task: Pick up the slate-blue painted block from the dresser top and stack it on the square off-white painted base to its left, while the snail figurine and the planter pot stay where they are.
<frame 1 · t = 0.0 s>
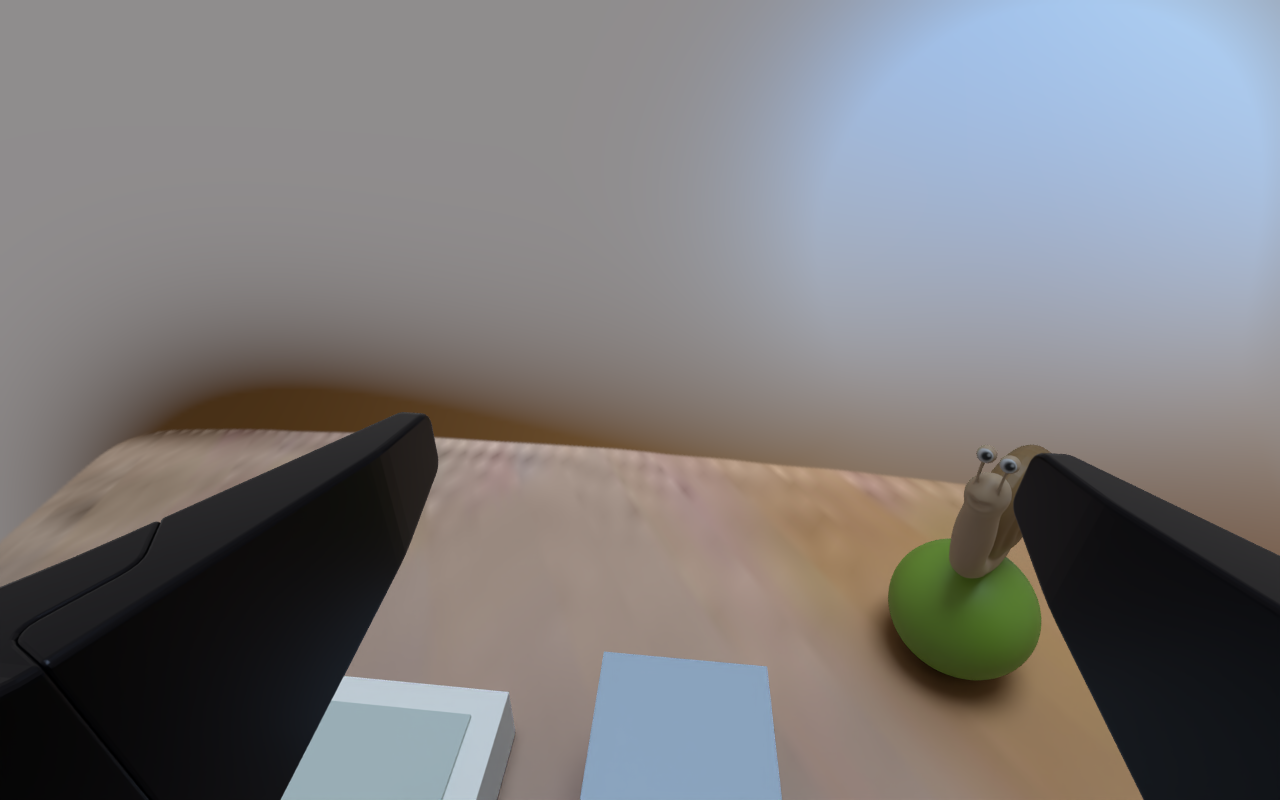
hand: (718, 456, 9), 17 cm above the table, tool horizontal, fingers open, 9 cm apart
snail figurine: (934, 658, 25), on the table
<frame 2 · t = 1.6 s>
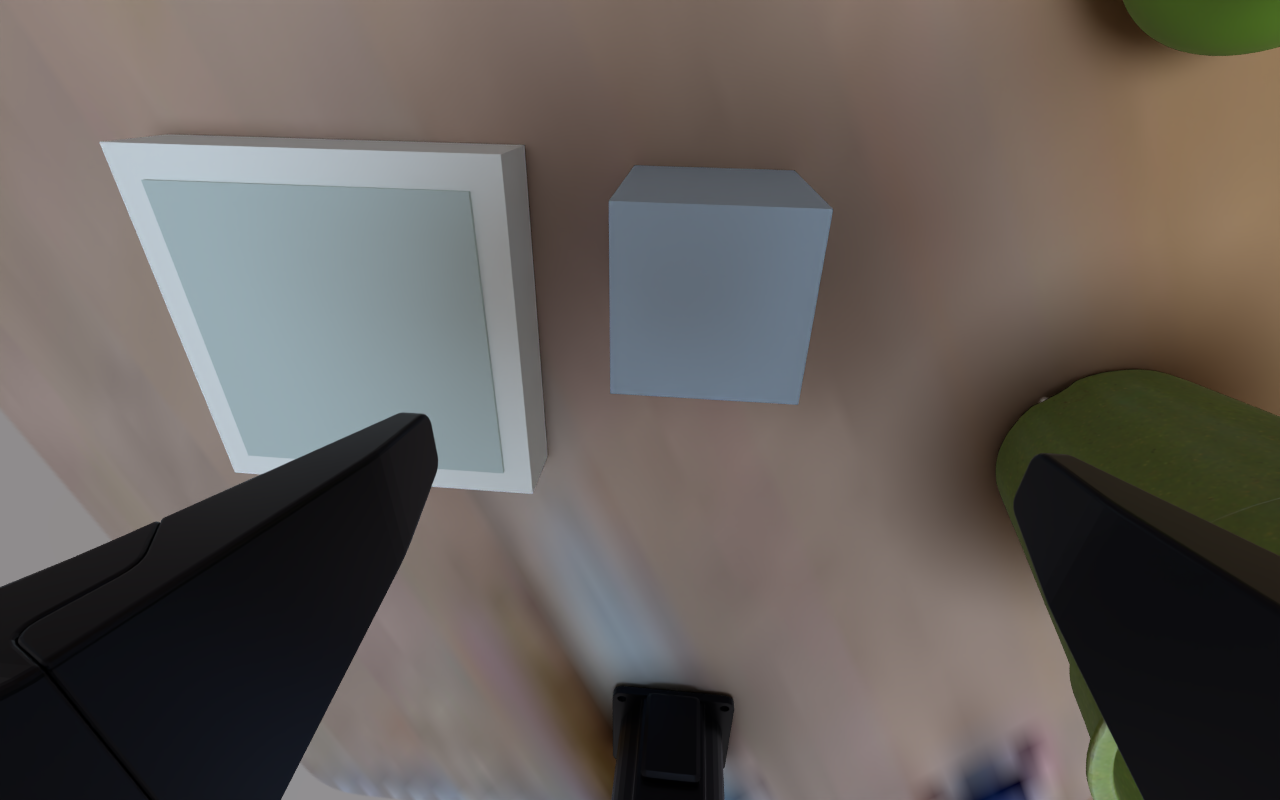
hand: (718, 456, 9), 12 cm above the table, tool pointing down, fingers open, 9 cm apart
plant pot: (1088, 446, 22), on the table
block: (707, 247, 19), on the table
base: (380, 314, 21), on the table
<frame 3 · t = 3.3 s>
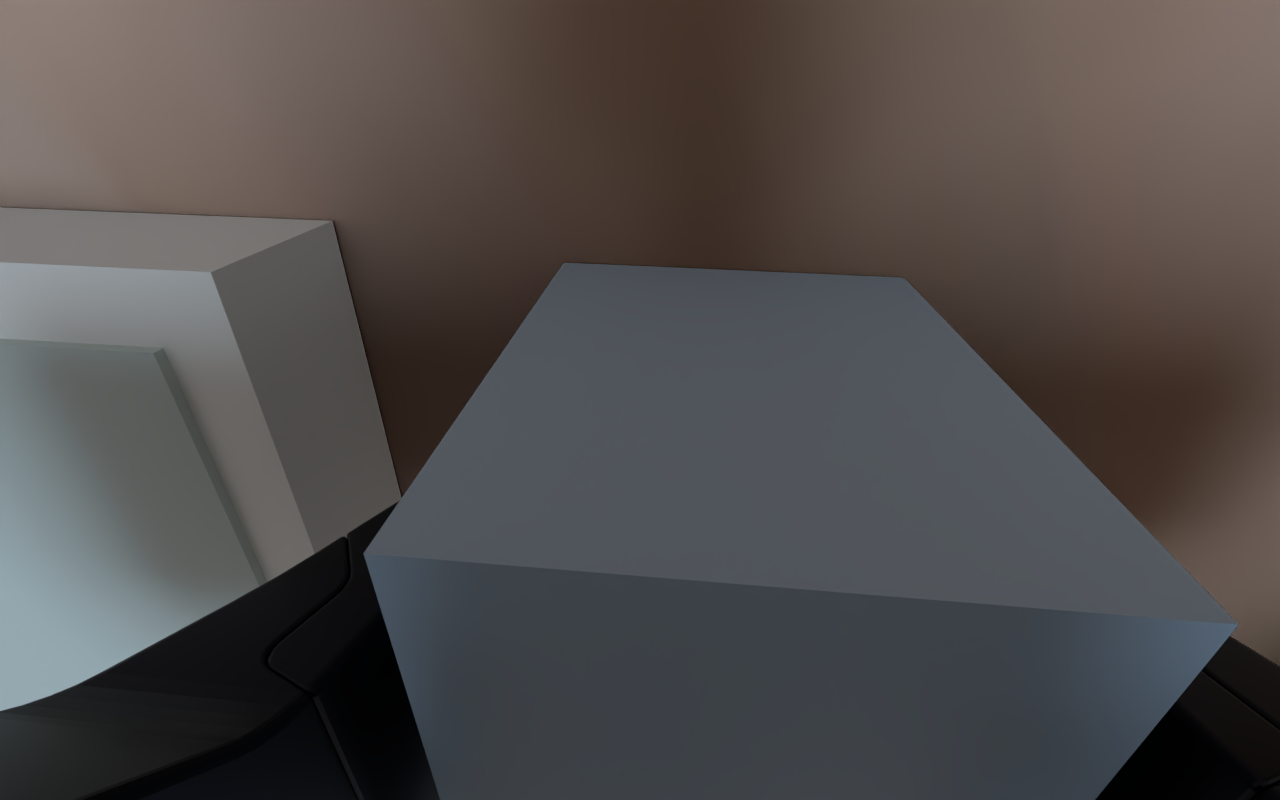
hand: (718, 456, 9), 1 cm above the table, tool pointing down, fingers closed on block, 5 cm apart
block: (716, 413, 10), on the table, touching gripper
base: (131, 500, 12), on the table
when the fingers open (4 cm above the table, at t = 7.6 s): block stays where it is, resting on base.
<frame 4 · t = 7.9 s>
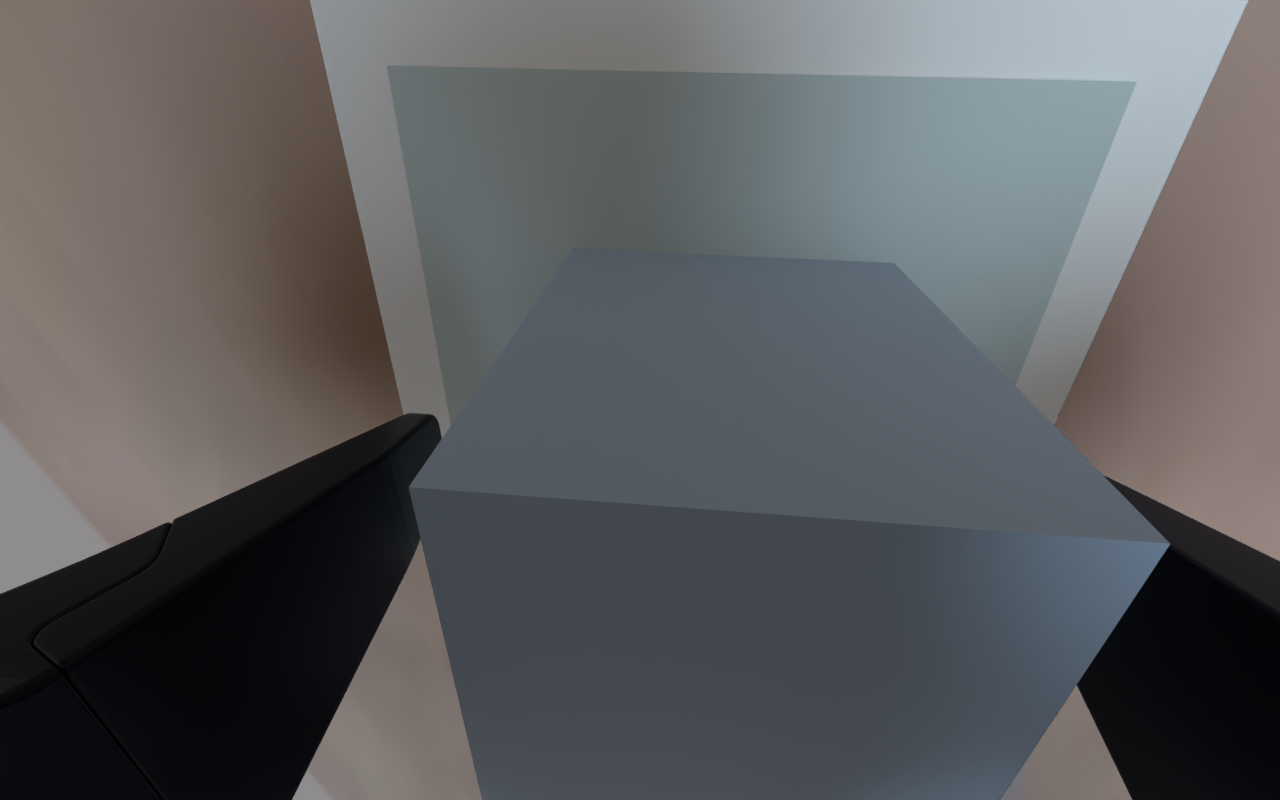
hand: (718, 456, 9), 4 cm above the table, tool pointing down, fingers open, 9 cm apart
block: (716, 394, 10), point 3 cm above the table, touching base
base: (711, 334, 13), on the table
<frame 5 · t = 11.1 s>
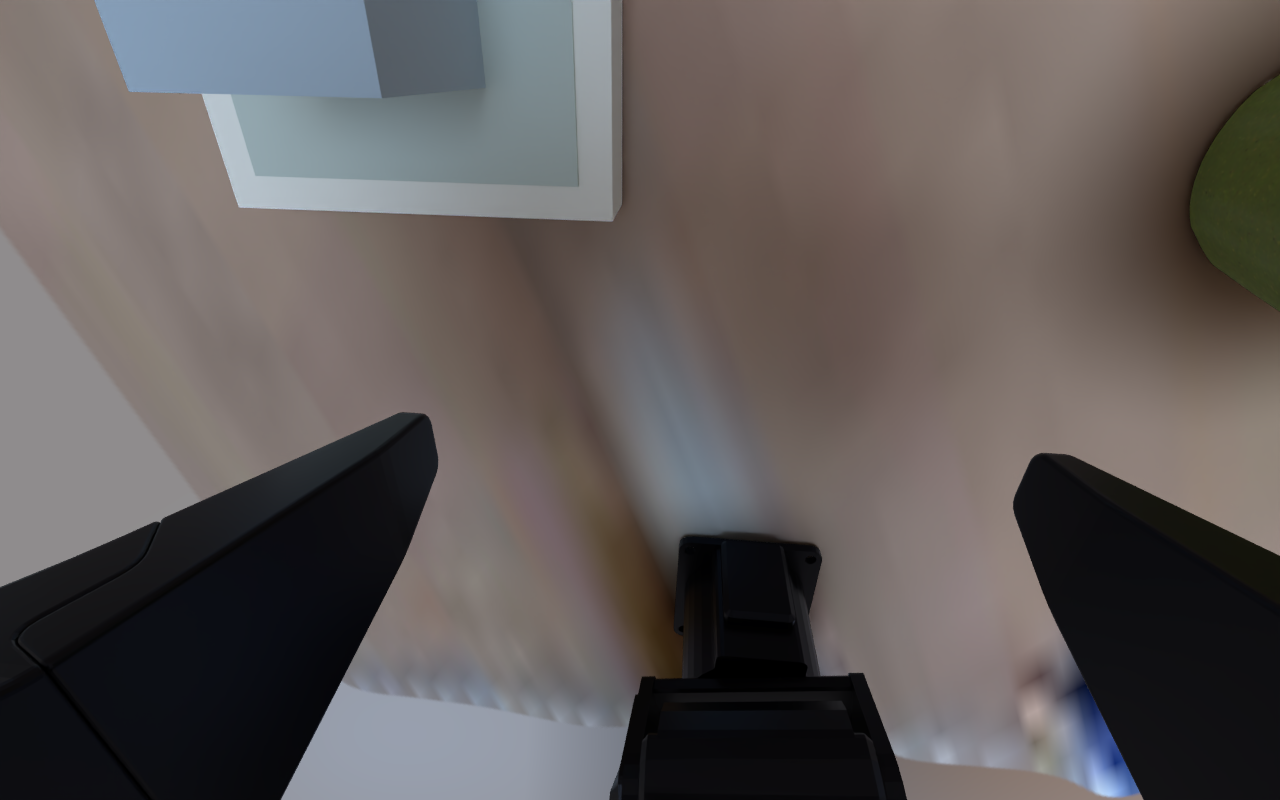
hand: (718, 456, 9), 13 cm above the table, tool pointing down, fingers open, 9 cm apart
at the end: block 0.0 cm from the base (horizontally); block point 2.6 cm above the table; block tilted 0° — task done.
